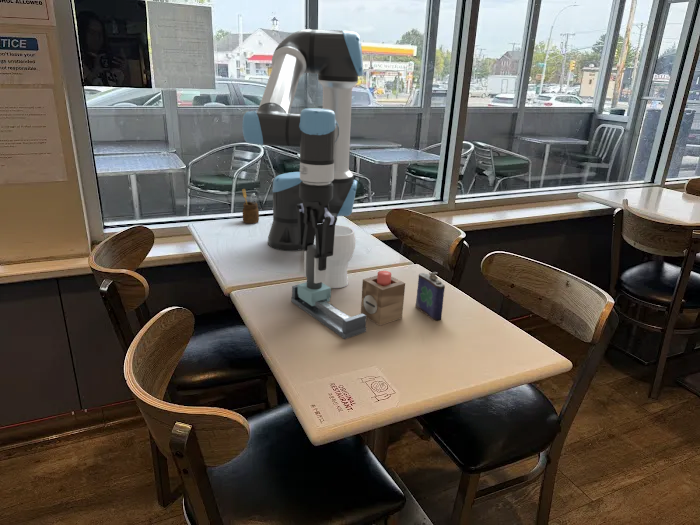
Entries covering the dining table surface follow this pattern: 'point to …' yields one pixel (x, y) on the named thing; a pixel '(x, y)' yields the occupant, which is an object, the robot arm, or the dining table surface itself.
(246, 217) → the utensil holder
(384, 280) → the button
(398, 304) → the open wooden box
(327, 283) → the cup
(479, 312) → the dining table surface
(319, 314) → the rail track
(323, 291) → the carriage
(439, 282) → the flask
